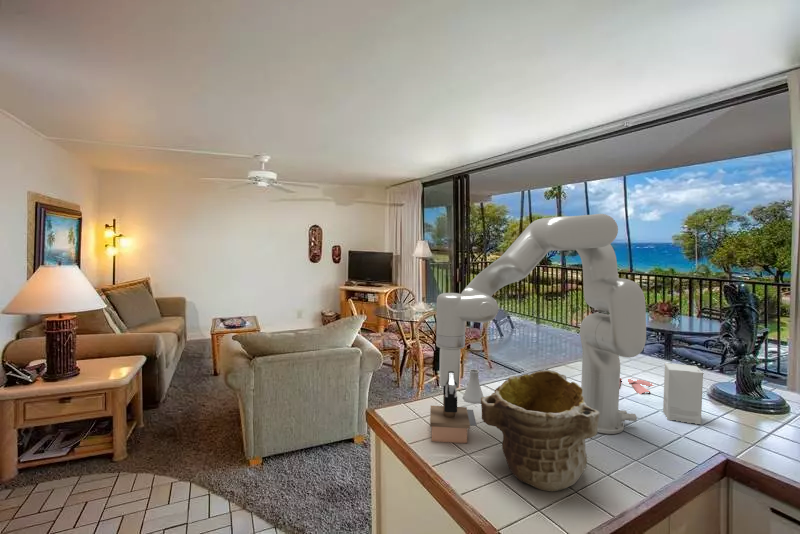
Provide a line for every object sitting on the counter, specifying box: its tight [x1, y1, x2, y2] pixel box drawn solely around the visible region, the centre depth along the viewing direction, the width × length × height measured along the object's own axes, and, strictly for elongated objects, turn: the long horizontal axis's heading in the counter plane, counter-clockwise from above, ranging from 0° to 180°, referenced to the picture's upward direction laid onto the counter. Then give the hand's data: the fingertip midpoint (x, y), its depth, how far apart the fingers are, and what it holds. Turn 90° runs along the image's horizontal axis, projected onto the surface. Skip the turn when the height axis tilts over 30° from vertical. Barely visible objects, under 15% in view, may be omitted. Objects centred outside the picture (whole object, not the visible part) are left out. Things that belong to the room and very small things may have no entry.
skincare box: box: [662, 362, 704, 425], centre depth 109 cm, size 8×7×16 cm
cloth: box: [619, 377, 654, 395], centre depth 135 cm, size 20×22×2 cm
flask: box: [462, 368, 485, 405], centre depth 121 cm, size 7×7×10 cm
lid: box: [429, 394, 471, 430], centre depth 99 cm, size 10×10×6 cm
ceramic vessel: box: [480, 369, 600, 492], centre depth 82 cm, size 23×24×25 cm
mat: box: [467, 408, 477, 427], centre depth 109 cm, size 10×10×1 cm
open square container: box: [431, 426, 468, 444], centre depth 99 cm, size 9×9×4 cm
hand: (449, 403), depth 99 cm, fingers open, 9 cm apart
